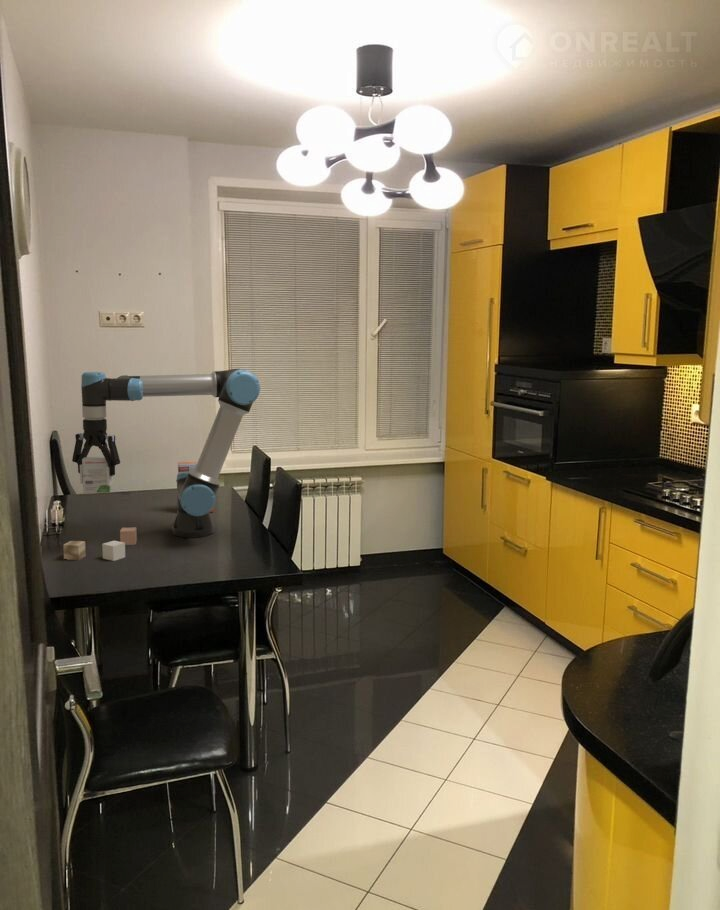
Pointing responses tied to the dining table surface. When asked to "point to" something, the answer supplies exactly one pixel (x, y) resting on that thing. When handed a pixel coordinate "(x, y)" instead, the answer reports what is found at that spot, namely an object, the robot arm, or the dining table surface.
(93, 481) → the ink box
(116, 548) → the off-white cube
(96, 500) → the dining table surface
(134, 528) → the terracotta cube
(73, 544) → the maple cube
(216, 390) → the robot arm
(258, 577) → the dining table surface
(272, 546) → the dining table surface
